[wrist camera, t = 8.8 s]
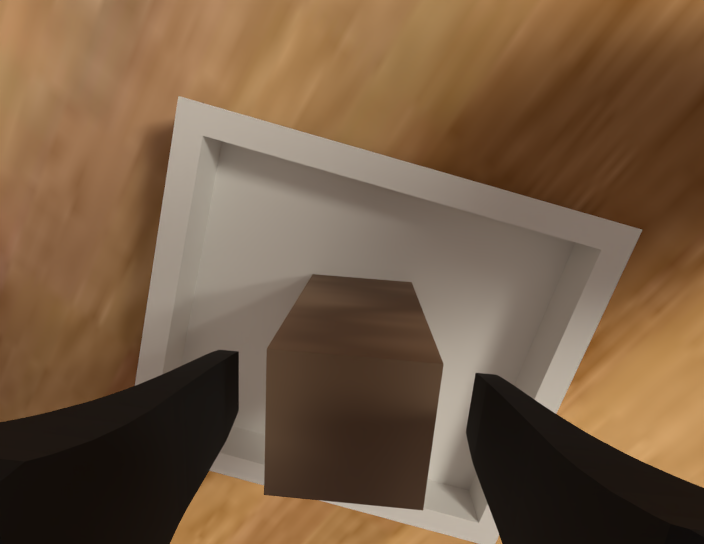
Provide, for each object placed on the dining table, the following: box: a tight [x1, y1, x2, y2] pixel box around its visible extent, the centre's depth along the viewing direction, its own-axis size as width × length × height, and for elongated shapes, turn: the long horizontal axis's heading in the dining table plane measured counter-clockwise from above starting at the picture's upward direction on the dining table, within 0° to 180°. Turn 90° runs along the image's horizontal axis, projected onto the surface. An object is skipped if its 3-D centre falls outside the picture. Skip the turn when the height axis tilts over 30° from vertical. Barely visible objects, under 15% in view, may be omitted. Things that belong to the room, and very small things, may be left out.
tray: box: [135, 96, 642, 544], centre depth 16 cm, size 16×14×2 cm
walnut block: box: [264, 274, 444, 510], centre depth 12 cm, size 4×4×7 cm
